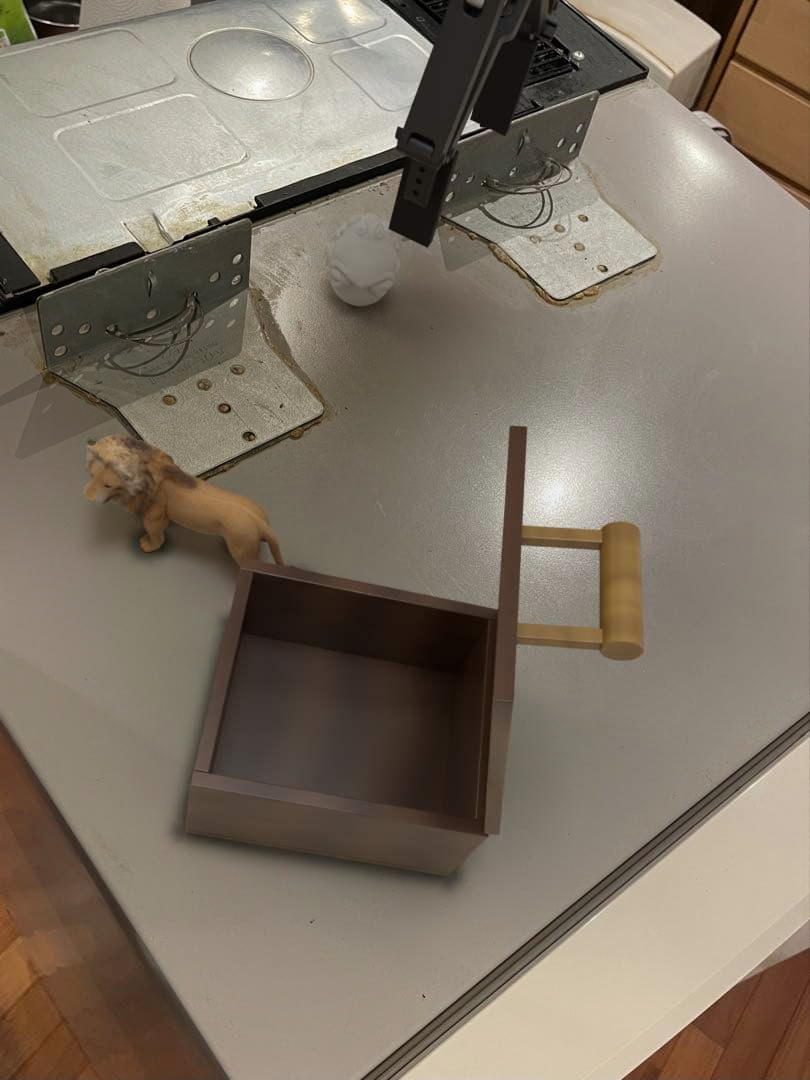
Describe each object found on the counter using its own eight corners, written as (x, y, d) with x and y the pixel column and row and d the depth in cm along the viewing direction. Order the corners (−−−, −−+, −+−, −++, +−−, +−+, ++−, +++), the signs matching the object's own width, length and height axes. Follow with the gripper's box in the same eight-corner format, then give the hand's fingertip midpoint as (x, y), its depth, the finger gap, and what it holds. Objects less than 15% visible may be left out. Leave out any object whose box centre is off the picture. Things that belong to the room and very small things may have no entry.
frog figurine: (394, 272, 85) (412, 208, 79) (387, 332, 81) (406, 268, 75) (324, 257, 84) (336, 191, 78) (314, 317, 80) (327, 251, 74)
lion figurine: (76, 551, 65) (66, 472, 57) (104, 487, 68) (98, 404, 60) (294, 609, 66) (312, 539, 58) (312, 543, 69) (332, 469, 61)
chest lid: (492, 701, 37) (656, 713, 37) (509, 424, 45) (646, 432, 44) (483, 834, 51) (603, 845, 51) (498, 605, 59) (602, 613, 58)
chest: (184, 832, 57) (189, 785, 50) (232, 625, 64) (242, 557, 57) (447, 876, 59) (489, 837, 51) (463, 670, 66) (502, 609, 59)
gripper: (550, -56, 40) (429, 317, 57) (698, -238, 53) (564, 108, 71) (383, -134, 40) (314, 261, 58) (573, -293, 54) (470, 64, 71)
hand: (451, 177), depth 64 cm, fingers open, 13 cm apart
